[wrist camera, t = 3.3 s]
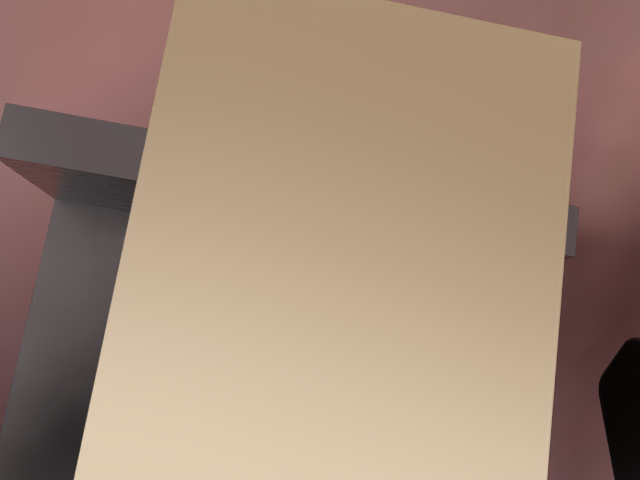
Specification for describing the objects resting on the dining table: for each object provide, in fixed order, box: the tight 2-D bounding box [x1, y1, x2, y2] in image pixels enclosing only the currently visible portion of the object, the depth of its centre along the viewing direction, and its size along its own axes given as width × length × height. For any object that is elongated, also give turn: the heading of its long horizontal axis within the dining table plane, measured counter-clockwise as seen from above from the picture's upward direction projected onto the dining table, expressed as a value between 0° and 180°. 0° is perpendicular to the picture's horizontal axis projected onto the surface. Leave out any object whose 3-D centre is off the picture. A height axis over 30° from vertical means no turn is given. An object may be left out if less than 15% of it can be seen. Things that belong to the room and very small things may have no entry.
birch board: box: [74, 0, 582, 480], centre depth 9 cm, size 4×2×11 cm, turn 172°
